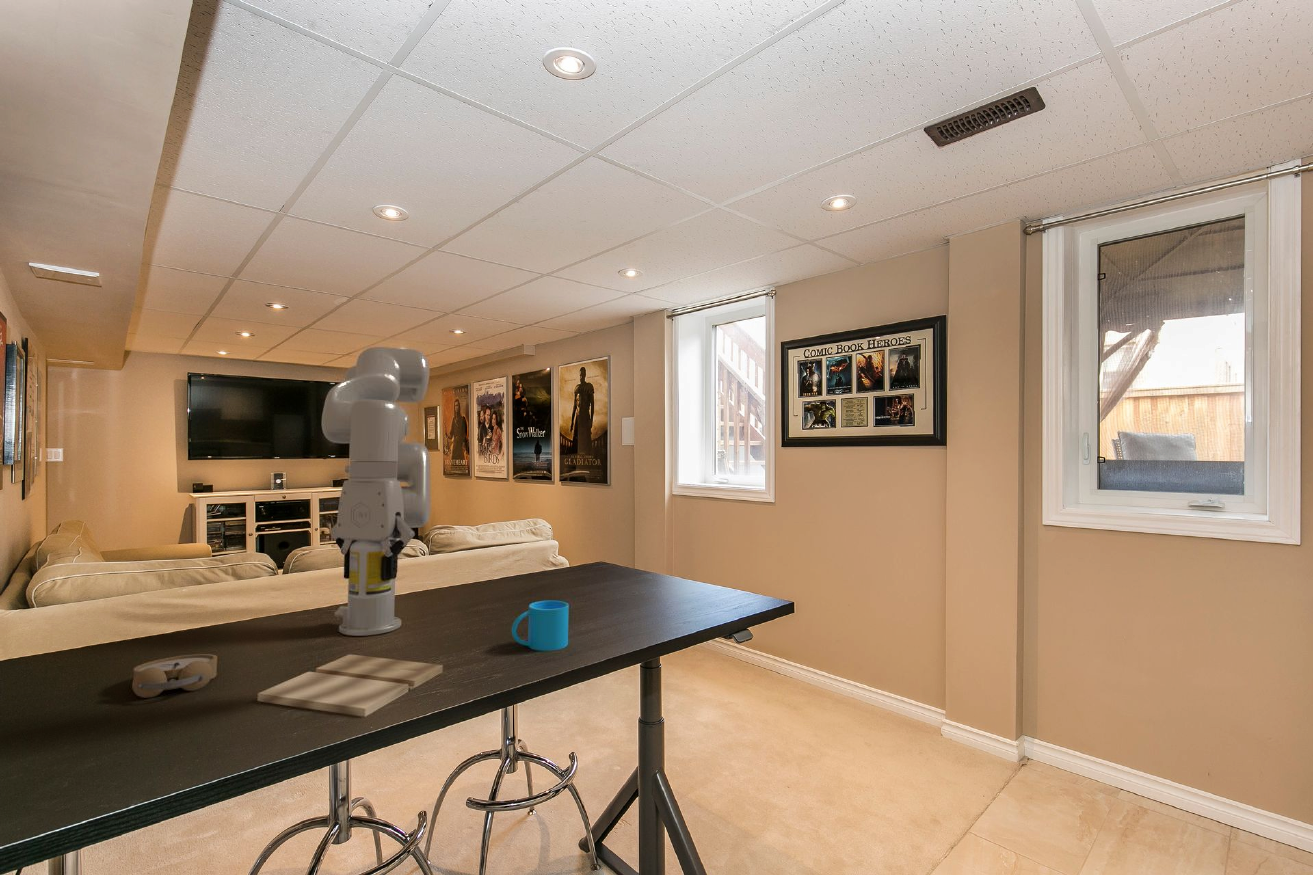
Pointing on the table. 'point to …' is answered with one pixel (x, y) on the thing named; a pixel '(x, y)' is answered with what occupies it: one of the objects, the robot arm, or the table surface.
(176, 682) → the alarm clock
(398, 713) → the table surface
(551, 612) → the mug
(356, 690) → the plank
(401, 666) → the floor row
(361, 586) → the pill bottle
